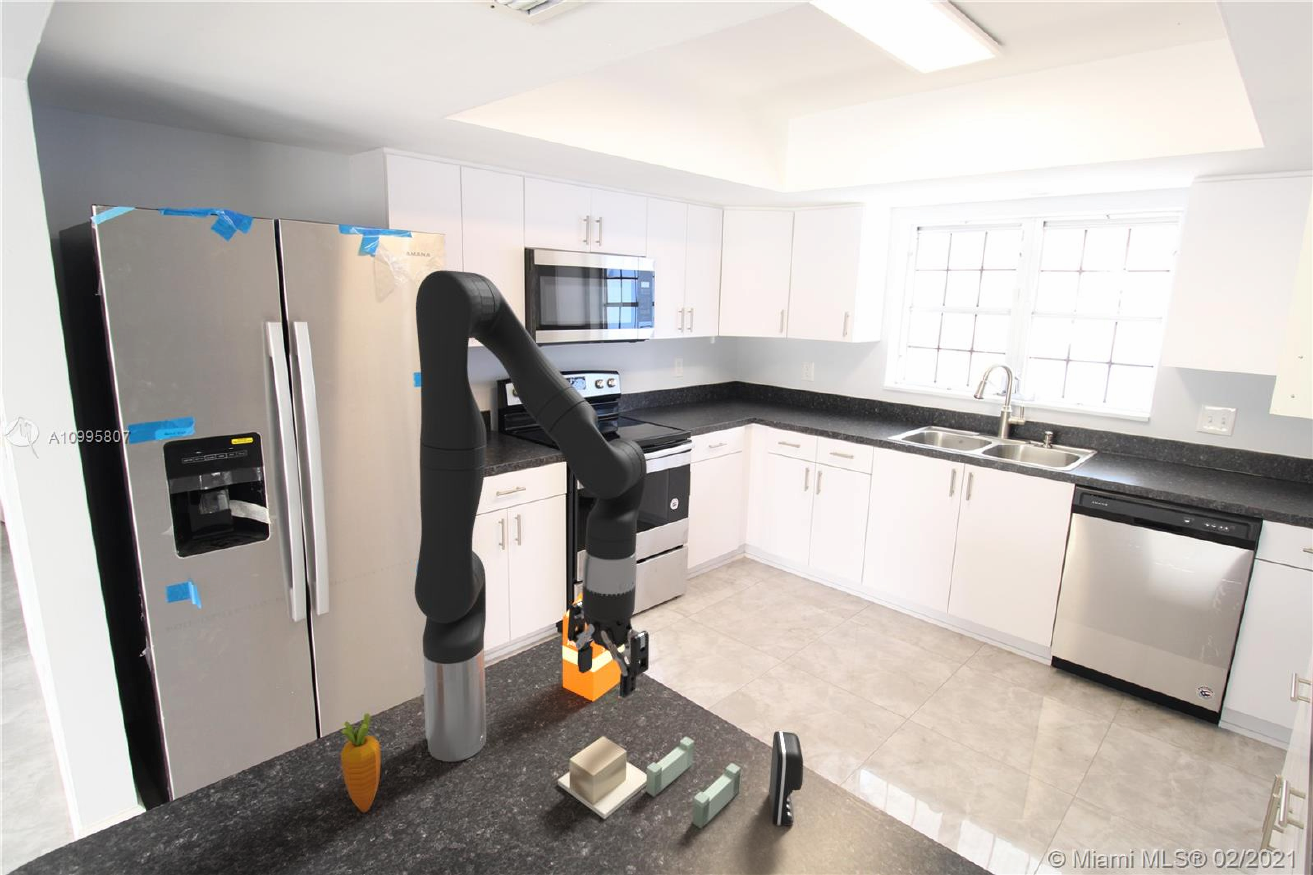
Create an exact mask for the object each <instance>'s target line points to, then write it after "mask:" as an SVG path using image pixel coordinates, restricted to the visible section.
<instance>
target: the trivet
mask: <svg viewBox="0 0 1313 875" xmlns="http://www.w3.org/2000/svg"><path fill="white" fill-rule="evenodd" d="M646 777H647V773H645V771H642V770H641V769H639V768H637V767H636V766H634V765H633V764H631V763H630V762H629V761H627V764H626V780H625V781H623V782H622V783H621V784H620V785H618V786H617V787H616V788H615V789H613V790H612V791H611V792H609V793H608V794H607V795H606V796H604V797H603V798H602V799H601V800H599V801H598V802H597V803H595V804H594V805H592V804H591V803H589V802H588V801H586V800H585V799H584V798H582V797H581V796H580V795H578V794H577V793H576V792H574V791H573V790H572V789H570V771H568V772H567V773H565V774H564V775H563V776H561V777H560V778H558V779H557V785H558V786H559V787H561V788H562V789H563V790H565V791H566V792H568V793H569V794H571V795H572V796H573V797H574V798H576V799H577V800H578V801H579V802H581V803H582V804H584V805H585V806H586V807H588V808H589V809H591V811H592V812H594V813H596V814H597V815H598V816H600V817H601V818H602V819H604V820H606V819H607V818H608V817H610V815H612V814H613V813H614V812H615V811H617V810H618V809H619V808H621V807H622V806H624V804H626V803H627V802H628V801H630V799H632V798H633V797H634V796H635V795H636V794H638V793H639V792H640V791H641V790H643V789H644V788H646Z"/></svg>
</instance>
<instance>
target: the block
mask: <svg viewBox="0 0 1313 875" xmlns="http://www.w3.org/2000/svg"><path fill="white" fill-rule="evenodd" d="M627 756H628V751H627V750H625V748H623V747H621V746H620V745H618V744H616V742H614V741H613V740H611V739H608V737H605V736H604V735H602V736H601V737H600V738H598V739H596V741H594V742H592V743H591V744H589V745H588V746H587V747H585V748H583V749H582V750H581V751H580V752H578V753H576V754H575V755H574V756H572V757H571V758H569V772H570V789H572V790H573V791H574V792H576V793H577V794H578V795H580V796H581V797H582V798H584V799H585V800H586V801H588V802H589V803H591V804H592V805H594V804H595V803H597V802H598V801H599V800H601V799H602V798H603V797H604V796H606V795H607V794H608V793H609V792H611V791H612V790H613V789H615V788H616V787H617V786H618V785H620V784H621V783H622V782H623V781H625V780H626V764H627V762H628V761H627V759H628V757H627Z"/></svg>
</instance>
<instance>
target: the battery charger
mask: <svg viewBox="0 0 1313 875" xmlns="http://www.w3.org/2000/svg"><path fill="white" fill-rule="evenodd" d="M772 738H773V740H772V748H771V750H772V751H771V760H770V761H771V762H770V776H769V785H768V786H769V788H768V790H769V791H768V793H769V794H768V795H769V804H770V813H771V822H772V823H773V824H774V825H776V826H788V825H791V824H793V823H794V820H795V814H794V809H793V802H792V795H791V794H792V793H793V791H800V790H801V789H802V786H803V779H804V759H803V758H804V757H803V753H802V746H801V743H800V739H799V736H798V735H797V734H796V733H794V732H787V731H782V730H778V731H774V733H773V737H772Z"/></svg>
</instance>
